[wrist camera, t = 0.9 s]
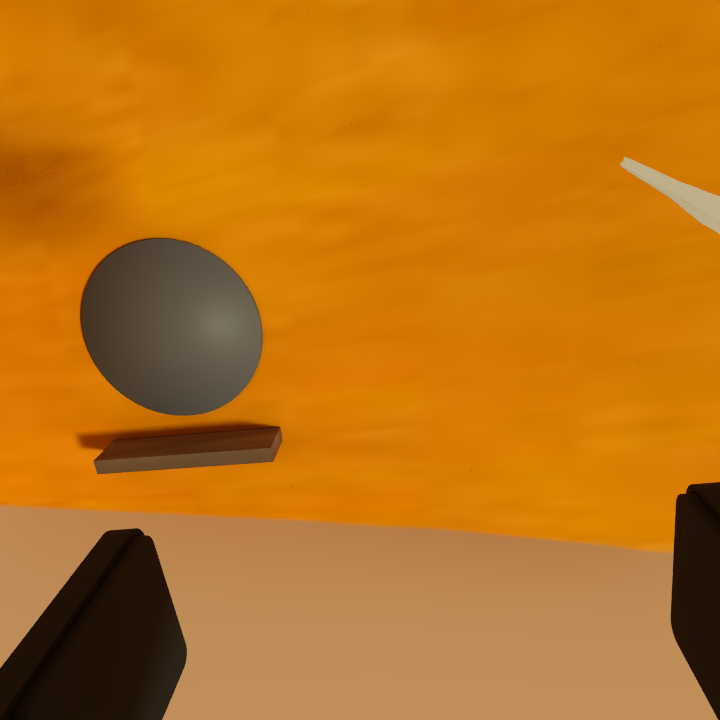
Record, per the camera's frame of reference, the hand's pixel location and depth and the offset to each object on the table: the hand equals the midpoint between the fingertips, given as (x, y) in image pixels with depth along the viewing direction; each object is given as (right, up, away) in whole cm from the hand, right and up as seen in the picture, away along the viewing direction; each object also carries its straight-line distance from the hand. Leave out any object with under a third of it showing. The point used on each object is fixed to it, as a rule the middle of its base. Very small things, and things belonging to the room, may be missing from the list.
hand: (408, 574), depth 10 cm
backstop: (-12, -2, +31) cm, 33 cm away
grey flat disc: (-13, +6, +28) cm, 31 cm away
